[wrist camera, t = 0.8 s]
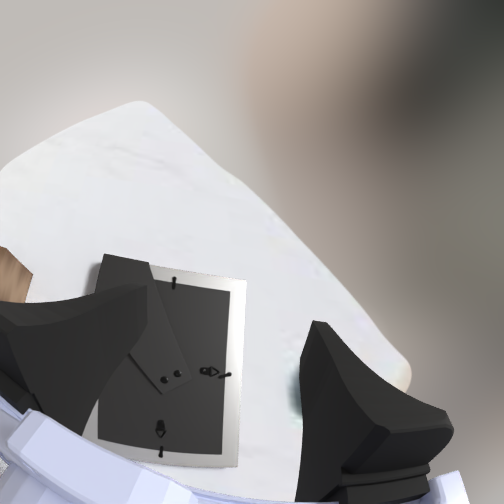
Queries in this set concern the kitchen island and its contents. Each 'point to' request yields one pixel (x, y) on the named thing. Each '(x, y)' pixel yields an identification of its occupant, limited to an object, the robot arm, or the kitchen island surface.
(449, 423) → the robot arm
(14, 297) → the walnut bookend
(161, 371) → the picture frame
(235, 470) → the kitchen island surface
